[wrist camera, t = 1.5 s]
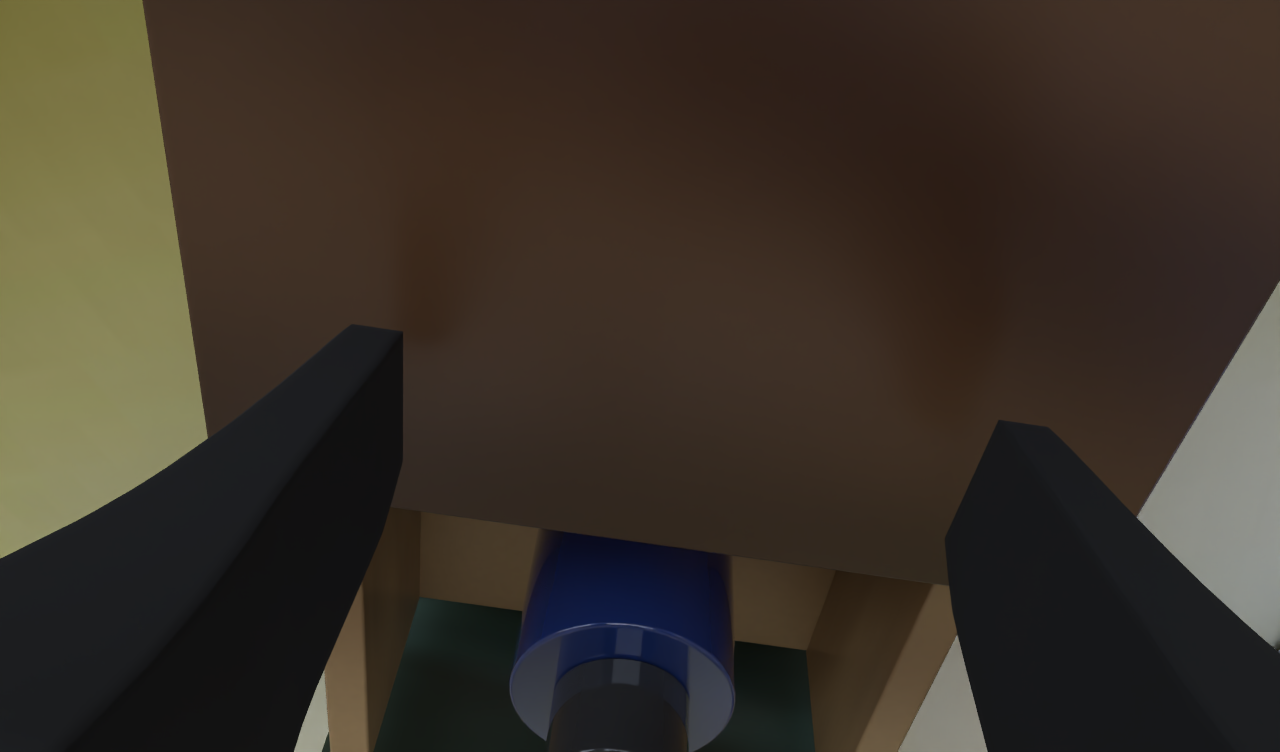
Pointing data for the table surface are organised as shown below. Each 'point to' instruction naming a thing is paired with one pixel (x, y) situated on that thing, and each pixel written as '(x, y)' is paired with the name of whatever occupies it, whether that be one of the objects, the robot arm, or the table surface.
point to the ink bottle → (624, 646)
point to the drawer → (489, 623)
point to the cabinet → (731, 244)
